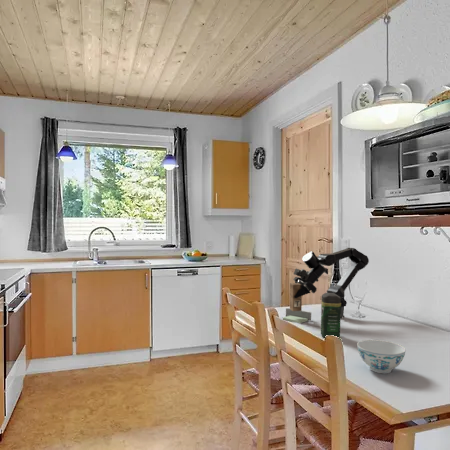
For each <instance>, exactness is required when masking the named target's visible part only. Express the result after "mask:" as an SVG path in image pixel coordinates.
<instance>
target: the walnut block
mask: <svg viewBox="0 0 450 450" xmlns="http://www.w3.org/2000/svg"><path fill="white" fill-rule="evenodd" d="M299 289H300V284H299V283H295V282H294V283H293V282H291V283H289V309H290V310H292V311H303V310H302V309H303V308H302V302H303V301H302V300H303V299H302V298H303V296H300V297H298V298H295V297H294V296H295V294H296V293H297V292H298V290H299Z"/></svg>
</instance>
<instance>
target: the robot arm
mask: <svg viewBox="0 0 450 450" xmlns="http://www.w3.org/2000/svg"><path fill="white" fill-rule="evenodd" d="M347 258H348V259H349V263H350V264H349V265H350V266H349V267H348V268H347V269H346V271H345V272H344V273H343V275H342V277H341V278H340V279H339V281H338V282H337V284H335V285H330V286H329V288H328V289H327V290H326V293H335V294H336V295H338V296H339V297H340V298H341V319H343V318H345V317H346V316H345V315H344V307H347V304H348V302H347V300H346V299H345V298H344V297H345V291H346V290H347V288H348V287H349V285H350V284H351V283H352V281H353V279H354V278H355V277H356V275H357V274H358V272H360V271H361V270H363V269H365V267H367V265H368V264H369V263H370V259H369V257H368V256H367V255H366V254H365V253H363V252H361V251H359V250H358V249H356V248H354V247H347V248H345V249H341V250H338V251H335V252H332V253H320V254H319V255H318V256H317V255H316V253H315V252H314V251H309V252H308V253H306V254H304V255H303V256H302V259H301V260H302V261H303V263H304V264H305V265H306V266H307V268H308V269H310V270H309V271H308V270H305V269H304V268H303V269H299V268H295V269H294V272H293V275H294V278H292V279H293V281H294V283H299V284H300V289H299V290H298V292H297V293H296V294H295V296H294V297H295V298H298V297H300V296H302V297H303V296H305V295H308V294H311V293H312V294H315V293H316V292H317V289H318V288H317V287H316V286H315V285H314V284H315V283H316V282H319V281H320V280H319V279H320V278H321V276H322V275H323V274H326V275H328V274H329V268H327V267H331V266H333V265H335V264H336V262H338V261H340V260H344V259H347ZM325 266H326V267H325ZM342 317H343V318H342Z"/></svg>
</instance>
